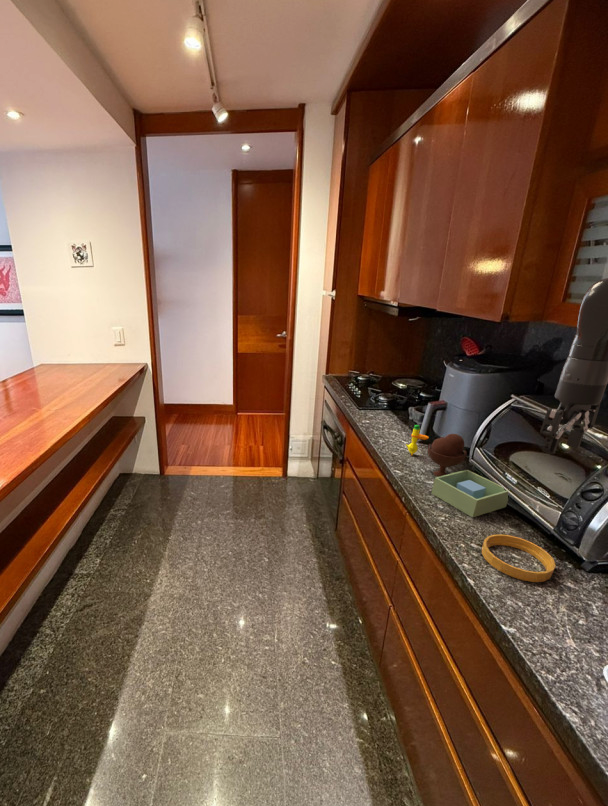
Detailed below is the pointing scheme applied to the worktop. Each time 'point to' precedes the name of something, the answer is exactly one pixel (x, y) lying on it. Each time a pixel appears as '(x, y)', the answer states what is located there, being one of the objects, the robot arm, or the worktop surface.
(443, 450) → the ice cream bowl
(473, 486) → the toy block
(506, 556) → the worktop surface
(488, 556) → the wide orange band ring
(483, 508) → the sage bin
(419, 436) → the toy figure
